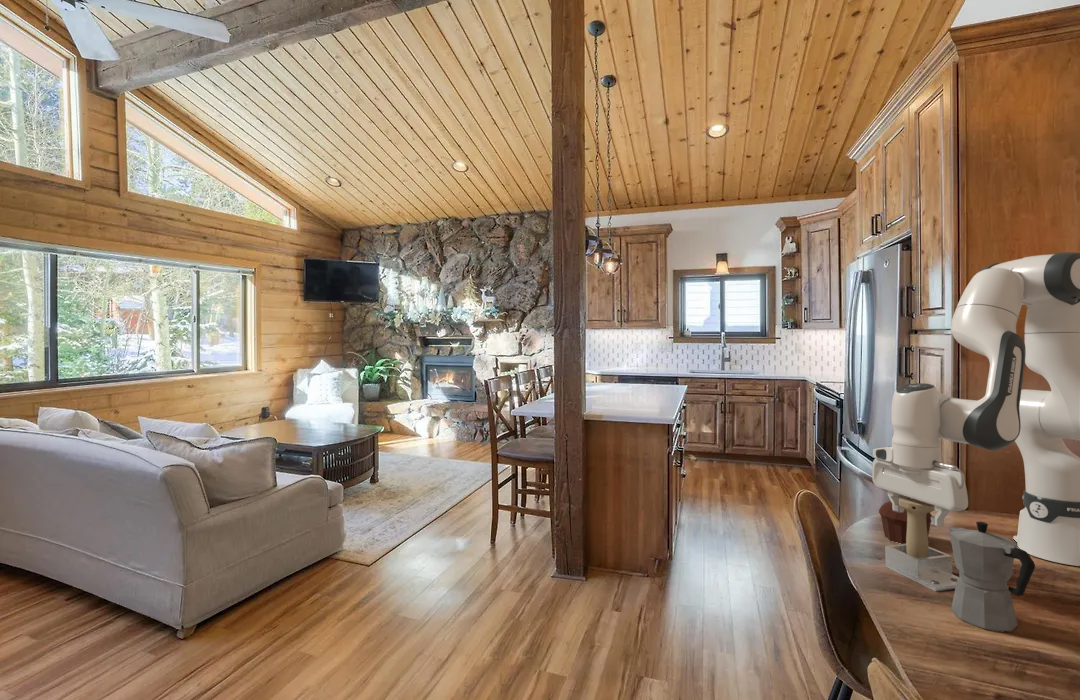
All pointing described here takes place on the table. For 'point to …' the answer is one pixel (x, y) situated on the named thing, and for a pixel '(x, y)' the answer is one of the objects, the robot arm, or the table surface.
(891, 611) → the table surface
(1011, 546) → the coffeepot
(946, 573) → the flanged open box
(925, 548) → the handle
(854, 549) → the table surface
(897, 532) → the muffin
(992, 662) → the table surface
